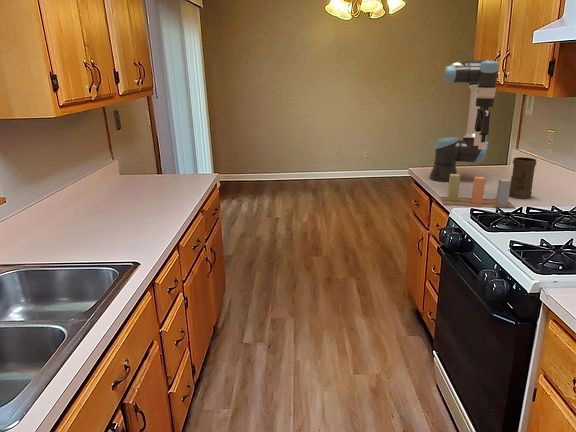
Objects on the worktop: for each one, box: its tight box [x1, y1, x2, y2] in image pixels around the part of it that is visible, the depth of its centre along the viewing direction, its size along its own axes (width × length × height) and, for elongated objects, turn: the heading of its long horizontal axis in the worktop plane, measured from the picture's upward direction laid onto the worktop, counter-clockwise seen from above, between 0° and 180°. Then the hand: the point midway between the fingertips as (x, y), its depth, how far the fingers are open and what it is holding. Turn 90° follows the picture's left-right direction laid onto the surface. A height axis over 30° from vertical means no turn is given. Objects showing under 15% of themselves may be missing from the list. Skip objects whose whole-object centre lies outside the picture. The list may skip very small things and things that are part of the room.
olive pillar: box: [446, 173, 461, 201], centre depth 214 cm, size 4×4×12 cm
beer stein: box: [509, 157, 537, 200], centre depth 221 cm, size 15×11×20 cm
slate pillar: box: [495, 178, 511, 207], centre depth 204 cm, size 4×4×12 cm
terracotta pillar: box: [470, 176, 486, 205], centre depth 209 cm, size 4×4×12 cm
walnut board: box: [439, 196, 517, 210], centre depth 212 cm, size 15×31×1 cm, turn 80°
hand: (479, 147), depth 211 cm, fingers open, 9 cm apart
